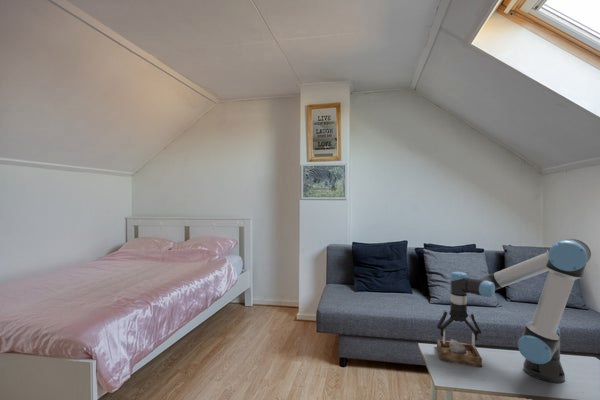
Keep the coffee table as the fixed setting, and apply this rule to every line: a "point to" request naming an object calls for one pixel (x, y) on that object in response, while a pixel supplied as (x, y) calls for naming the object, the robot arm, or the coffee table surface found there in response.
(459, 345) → the stone
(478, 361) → the tray
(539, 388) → the coffee table surface
